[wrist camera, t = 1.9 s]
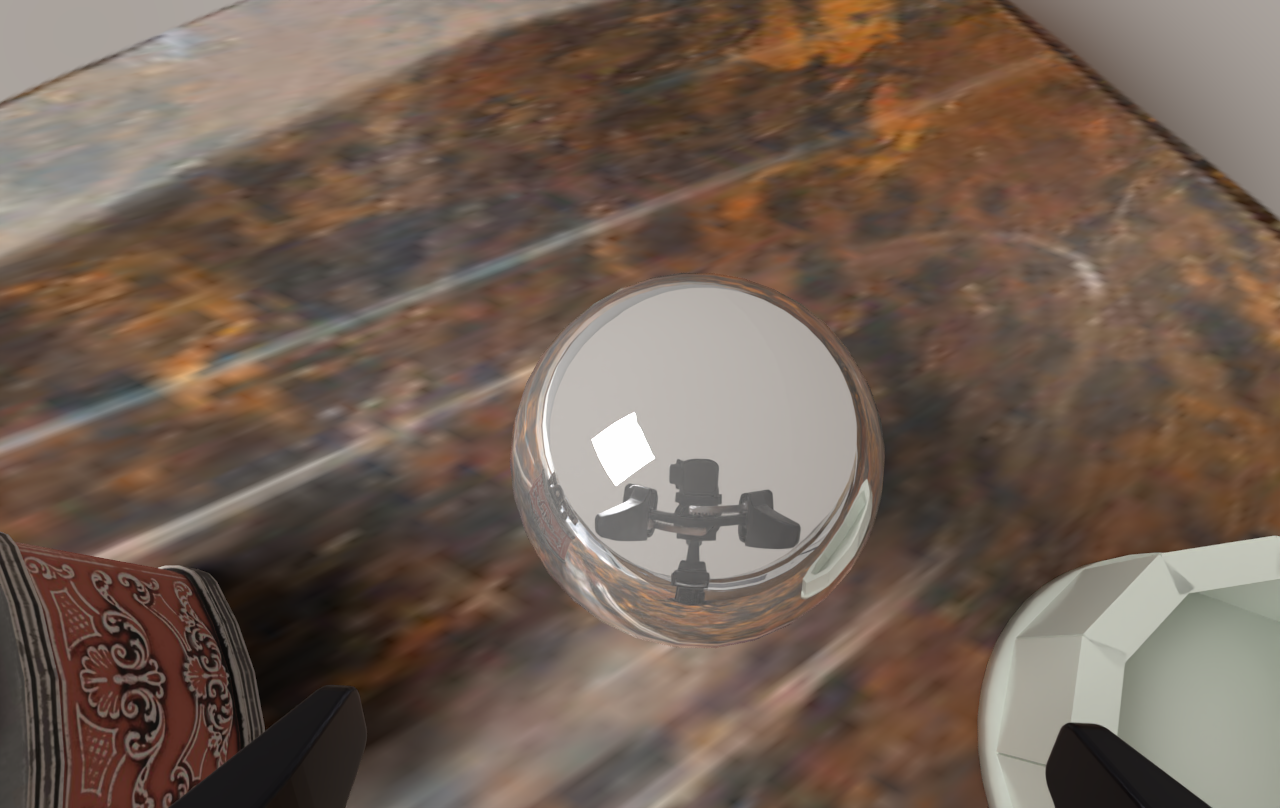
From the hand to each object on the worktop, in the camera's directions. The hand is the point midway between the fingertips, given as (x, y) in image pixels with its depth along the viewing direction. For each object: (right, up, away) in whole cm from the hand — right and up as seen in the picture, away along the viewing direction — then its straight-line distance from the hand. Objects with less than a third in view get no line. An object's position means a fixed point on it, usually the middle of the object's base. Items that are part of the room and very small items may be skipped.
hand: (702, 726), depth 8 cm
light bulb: (0, 0, +12) cm, 12 cm away
